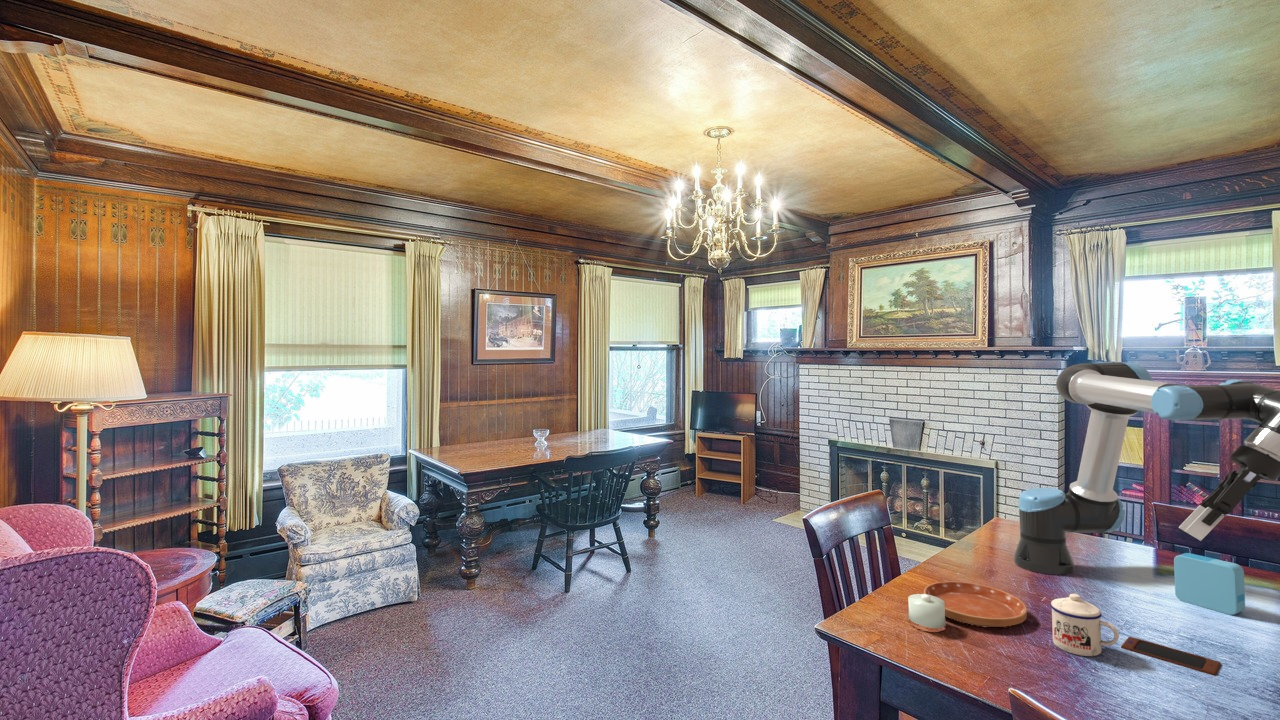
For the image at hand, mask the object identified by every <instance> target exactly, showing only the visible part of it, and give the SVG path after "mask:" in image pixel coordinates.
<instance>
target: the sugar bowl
mask: <svg viewBox="0 0 1280 720" xmlns="http://www.w3.org/2000/svg"><path fill="white" fill-rule="evenodd" d="M907 599H908V620H909V619H910V620H911V621H912V622H914V623H916V624H919V625H921V626H924V627H929V628H942V627H944V626H945V627H946V617H945V602H944V601H943V600H942V599H940V598H938V597H935V596H932V595H928V594H924V593H916V594H915V593H914V594H911V595H908V597H907Z"/></svg>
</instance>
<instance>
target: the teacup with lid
mask: <svg viewBox="0 0 1280 720" xmlns="http://www.w3.org/2000/svg"><path fill="white" fill-rule="evenodd" d="M1049 605H1050V608H1051V620H1052V621H1051V622H1052V623H1051V625H1052V627H1051V628H1052V642H1053V644H1054V645H1055V646H1056V647H1057V648H1059V649H1061V650H1062V651H1064V652H1067V653H1070V654H1073V655H1076V656H1077V655H1078V656H1082V657H1097V656H1099V655H1100V654H1101V653H1102V646H1107V647H1110V646H1114V645H1116V643H1117V642H1118V640H1119V638H1120V633H1119V630H1118V629H1117V627H1116V626H1115V625H1113V623H1109V622H1107V621H1103V620H1101V617H1102V612H1101V610H1100V609H1099V608H1098V607H1097V606H1095V605H1093V604H1092V603H1089V602H1087V601H1086V600H1084V599H1081V596H1080V595H1079V594H1077V593H1070V594H1069V596H1067V597H1059V598H1055V599H1053V600H1051V603H1050V604H1049ZM1101 626H1103V627H1106V628H1109V629H1110V630H1111V631H1112V632H1113V639H1112V640H1110V641H1109V640H1108V641H1106V640H1103V639H1102V634H1101V633H1102V632H1101V631H1102V630H1101Z"/></svg>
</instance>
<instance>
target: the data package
mask: <svg viewBox="0 0 1280 720" xmlns="http://www.w3.org/2000/svg"><path fill="white" fill-rule="evenodd" d="M1173 569H1174V571H1173V572H1174V595H1175V597H1176V598H1177V599H1178V600H1179V601H1181V602H1184V603H1188V604H1191V605H1193V606H1197V607H1201V608H1205V609H1207V610H1211V611H1214V612H1219V613H1221V614H1222V613H1223V614H1225V615H1229V616H1233V615H1234V616H1235V615H1237V614H1239V613H1241V612H1243V611H1245V608H1246V596H1245V595H1246V593H1245V570H1244V569H1243V567H1242V566H1241V565H1240V564H1238V563H1235V562H1230V561H1225V560H1221V559H1219V558H1218V559H1217V558H1213V557H1208V556H1204V555H1199V554H1195V553H1190V552H1184V553H1182V554H1178V555H1176V556H1174V559H1173Z"/></svg>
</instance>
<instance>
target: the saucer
mask: <svg viewBox="0 0 1280 720" xmlns="http://www.w3.org/2000/svg"><path fill="white" fill-rule="evenodd" d="M923 594H928V595H932V596H935V597H938V598H940V599H942V600H943V601H944V602H945V616H947V617H950V618H952V619H955V620H958V621H961V622H964V623H968V624H973V625H978V626H977V627H979V626H986V627H985V628H987V627H1004V628H1008V627H1007V626H1009V627H1012V625H1013V626H1015V625H1020V624H1022V623H1023V622H1025V621H1026V619H1027V617H1028V609H1027V605H1026V604H1025V603H1024V601H1022V600H1021V599H1020V598H1018V597H1016V596H1014V594H1011V593H1009V592H1007V591H1004V590H1001V589H999V588H995V587H992V586H987V585H984V584H979V583H975V582H967V581H950V580H949V581H938V582H934V583H931V584H929V585H927V586H925V587H924V589H923ZM947 617H946V618H947ZM950 618H949V619H950ZM952 619H951V620H952ZM955 620H954V621H955ZM958 621H957V622H958ZM961 622H960V623H961ZM964 623H963V624H964ZM968 624H967V625H968ZM973 625H972V626H973Z"/></svg>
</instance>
